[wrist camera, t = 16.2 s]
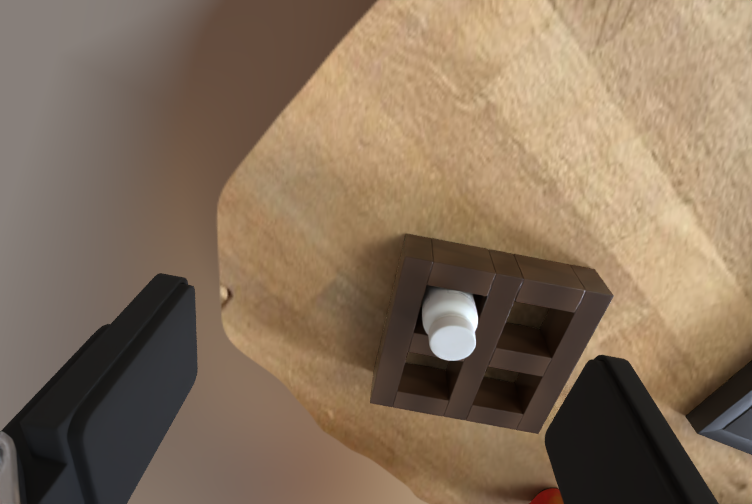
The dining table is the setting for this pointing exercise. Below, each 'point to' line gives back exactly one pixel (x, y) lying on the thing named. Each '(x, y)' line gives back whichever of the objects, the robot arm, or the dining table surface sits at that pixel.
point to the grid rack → (487, 334)
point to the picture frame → (728, 412)
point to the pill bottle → (449, 322)
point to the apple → (548, 497)
